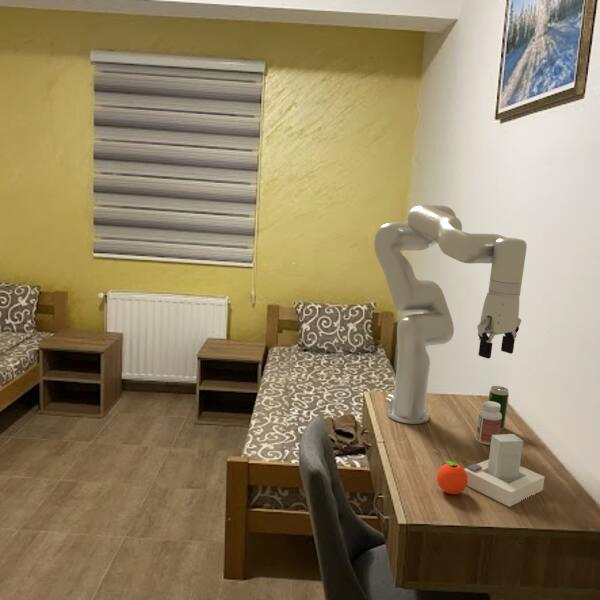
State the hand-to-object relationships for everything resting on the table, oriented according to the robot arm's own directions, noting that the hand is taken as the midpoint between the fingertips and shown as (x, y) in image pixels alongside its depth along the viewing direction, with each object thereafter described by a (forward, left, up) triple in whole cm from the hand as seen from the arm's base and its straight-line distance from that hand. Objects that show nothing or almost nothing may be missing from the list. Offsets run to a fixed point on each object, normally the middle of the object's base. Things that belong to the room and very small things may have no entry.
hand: (495, 354), depth 159 cm
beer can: (-11, +22, -28) cm, 38 cm away
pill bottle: (-6, +11, -28) cm, 31 cm away
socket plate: (+12, -9, -28) cm, 32 cm away
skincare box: (+12, -9, -28) cm, 32 cm away
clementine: (+7, -22, -28) cm, 37 cm away
